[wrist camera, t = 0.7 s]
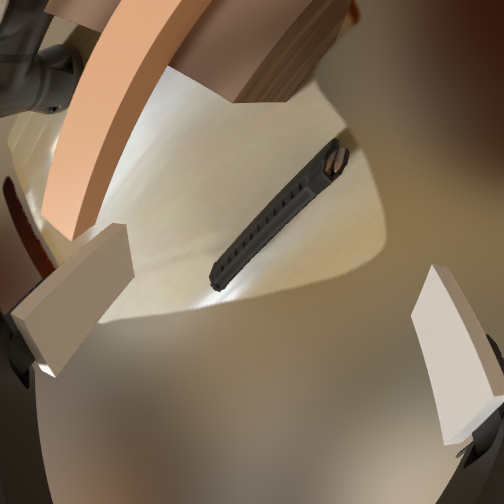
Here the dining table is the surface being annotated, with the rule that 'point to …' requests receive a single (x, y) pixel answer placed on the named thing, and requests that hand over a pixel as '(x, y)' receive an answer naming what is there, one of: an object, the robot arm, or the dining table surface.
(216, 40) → the rack
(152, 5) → the batten
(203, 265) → the dining table surface
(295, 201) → the magazine
